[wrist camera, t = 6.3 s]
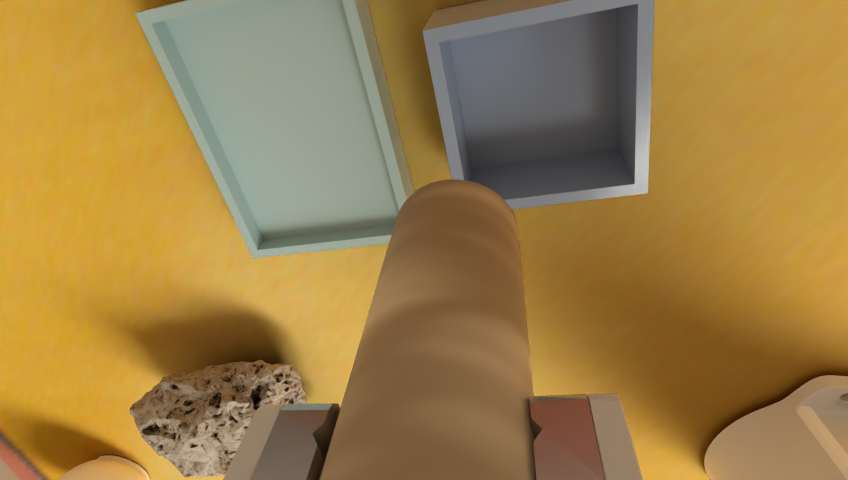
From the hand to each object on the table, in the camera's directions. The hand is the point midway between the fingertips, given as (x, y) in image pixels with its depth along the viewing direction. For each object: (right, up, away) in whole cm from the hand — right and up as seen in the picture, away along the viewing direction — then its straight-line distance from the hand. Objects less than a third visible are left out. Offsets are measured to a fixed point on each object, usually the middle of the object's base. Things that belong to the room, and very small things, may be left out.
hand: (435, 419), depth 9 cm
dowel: (+1, +4, +5) cm, 6 cm away
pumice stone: (-15, -8, +34) cm, 38 cm away
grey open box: (+6, +12, +17) cm, 22 cm away
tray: (-7, +10, +20) cm, 24 cm away
